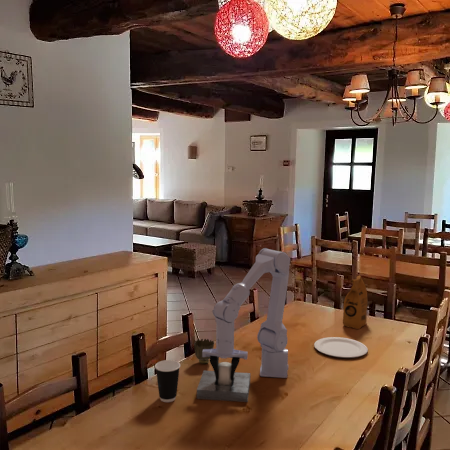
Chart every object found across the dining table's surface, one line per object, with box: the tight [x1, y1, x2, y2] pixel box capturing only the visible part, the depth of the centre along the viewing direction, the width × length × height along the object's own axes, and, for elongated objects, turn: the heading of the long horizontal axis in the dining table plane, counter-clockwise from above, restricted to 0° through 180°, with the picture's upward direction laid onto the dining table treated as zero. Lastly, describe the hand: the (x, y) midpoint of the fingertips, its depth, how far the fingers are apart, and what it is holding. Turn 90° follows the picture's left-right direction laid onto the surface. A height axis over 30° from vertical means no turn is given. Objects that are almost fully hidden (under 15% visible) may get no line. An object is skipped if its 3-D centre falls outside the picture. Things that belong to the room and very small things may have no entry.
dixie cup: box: [154, 359, 181, 403], centre depth 150 cm, size 8×8×11 cm
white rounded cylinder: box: [218, 361, 232, 386], centre depth 156 cm, size 4×4×7 cm
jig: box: [196, 369, 251, 403], centre depth 157 cm, size 16×14×3 cm
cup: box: [193, 338, 215, 365], centre depth 177 cm, size 8×7×8 cm
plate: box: [313, 336, 369, 359], centre depth 191 cm, size 21×21×2 cm
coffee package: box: [342, 275, 368, 330], centre depth 219 cm, size 10×12×22 cm
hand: (224, 378), depth 156 cm, fingers closed on white rounded cylinder, 4 cm apart
